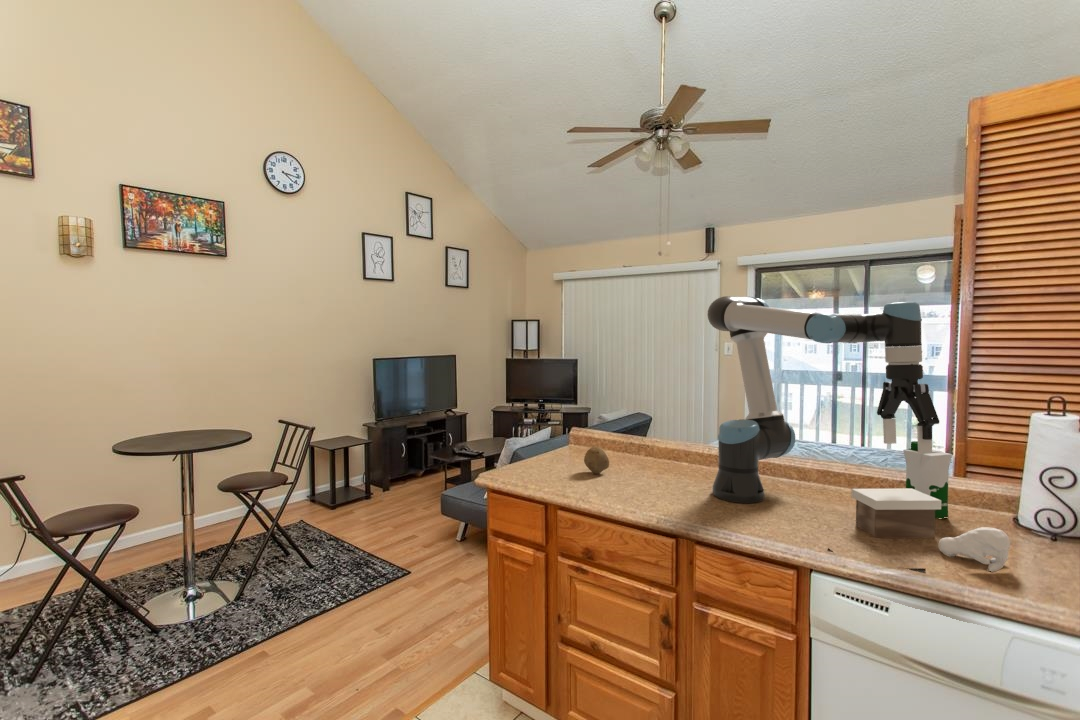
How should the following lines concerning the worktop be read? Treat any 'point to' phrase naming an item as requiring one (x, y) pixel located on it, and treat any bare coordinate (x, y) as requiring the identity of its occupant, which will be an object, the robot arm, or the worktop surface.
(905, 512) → the storage box
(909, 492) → the lid
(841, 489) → the worktop surface
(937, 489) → the milk carton
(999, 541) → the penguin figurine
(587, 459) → the brown oval lump
